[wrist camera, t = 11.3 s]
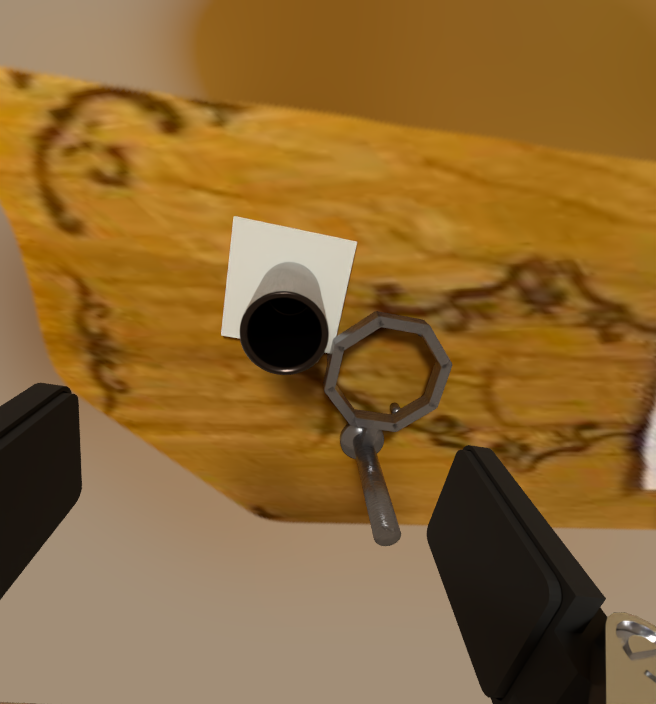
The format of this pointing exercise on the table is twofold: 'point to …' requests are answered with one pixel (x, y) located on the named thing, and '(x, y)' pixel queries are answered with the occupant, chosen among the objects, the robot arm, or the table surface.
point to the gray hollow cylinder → (285, 321)
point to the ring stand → (381, 415)
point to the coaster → (277, 247)
